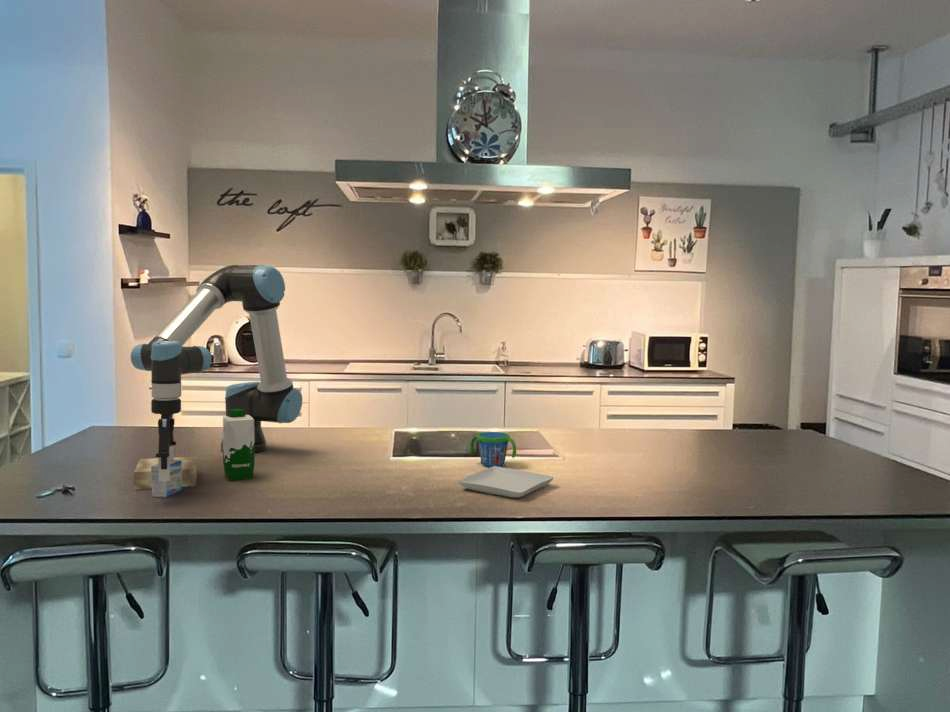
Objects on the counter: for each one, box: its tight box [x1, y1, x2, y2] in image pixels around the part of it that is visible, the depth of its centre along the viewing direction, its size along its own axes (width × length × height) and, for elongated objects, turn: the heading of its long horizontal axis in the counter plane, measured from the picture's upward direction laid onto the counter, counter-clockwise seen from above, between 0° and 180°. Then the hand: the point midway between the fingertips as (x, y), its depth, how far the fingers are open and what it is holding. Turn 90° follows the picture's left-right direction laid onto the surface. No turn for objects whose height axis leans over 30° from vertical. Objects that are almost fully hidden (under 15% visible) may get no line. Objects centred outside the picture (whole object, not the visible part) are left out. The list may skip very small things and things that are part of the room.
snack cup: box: [469, 431, 517, 468], centre depth 253 cm, size 16×10×10 cm
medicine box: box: [151, 460, 183, 498], centre depth 213 cm, size 8×4×9 cm, turn 168°
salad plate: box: [457, 466, 554, 499], centre depth 226 cm, size 21×21×3 cm
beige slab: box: [133, 456, 198, 491], centre depth 226 cm, size 16×16×5 cm
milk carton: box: [222, 409, 256, 481], centre depth 232 cm, size 9×9×20 cm
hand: (166, 475), depth 213 cm, fingers open, 13 cm apart
